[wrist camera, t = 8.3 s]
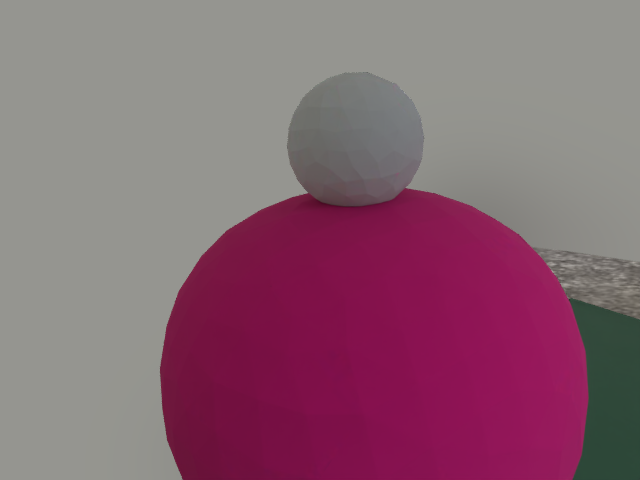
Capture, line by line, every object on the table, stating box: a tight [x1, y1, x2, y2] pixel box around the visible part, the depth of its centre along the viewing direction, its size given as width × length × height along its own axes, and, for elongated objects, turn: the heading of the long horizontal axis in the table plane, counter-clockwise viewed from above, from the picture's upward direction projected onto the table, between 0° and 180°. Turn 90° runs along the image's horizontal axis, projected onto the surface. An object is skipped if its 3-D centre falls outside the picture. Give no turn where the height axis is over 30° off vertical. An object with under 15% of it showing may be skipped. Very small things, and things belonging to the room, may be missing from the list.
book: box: [569, 298, 640, 480], centre depth 24 cm, size 20×15×3 cm
